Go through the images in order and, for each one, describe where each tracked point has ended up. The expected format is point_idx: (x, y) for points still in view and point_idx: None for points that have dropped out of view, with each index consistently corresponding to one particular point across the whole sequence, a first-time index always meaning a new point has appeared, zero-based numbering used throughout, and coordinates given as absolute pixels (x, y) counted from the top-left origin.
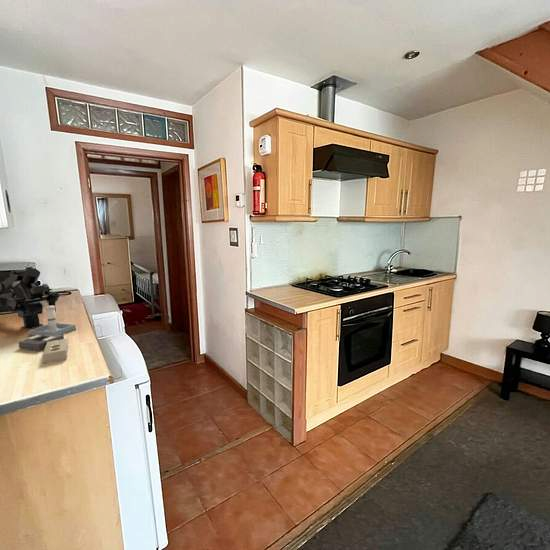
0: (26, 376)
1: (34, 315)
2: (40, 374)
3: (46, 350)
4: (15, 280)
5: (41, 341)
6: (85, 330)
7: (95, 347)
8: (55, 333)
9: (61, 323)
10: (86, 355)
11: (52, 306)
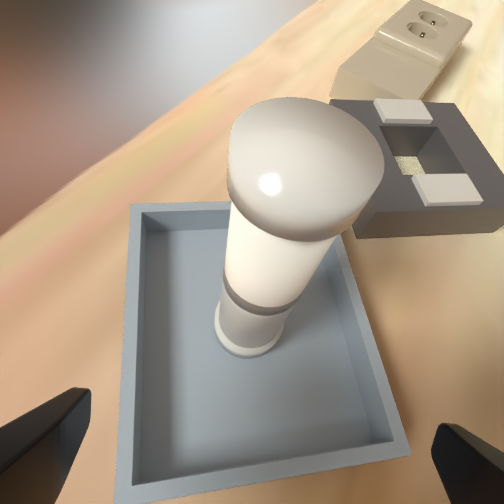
0: (501, 43)
1: (445, 423)
2: (473, 28)
3: (457, 29)
4: None
5: (435, 118)
6: (144, 159)
7: (298, 18)
8: None
9: (129, 352)
10: (350, 9)
11: (292, 110)
